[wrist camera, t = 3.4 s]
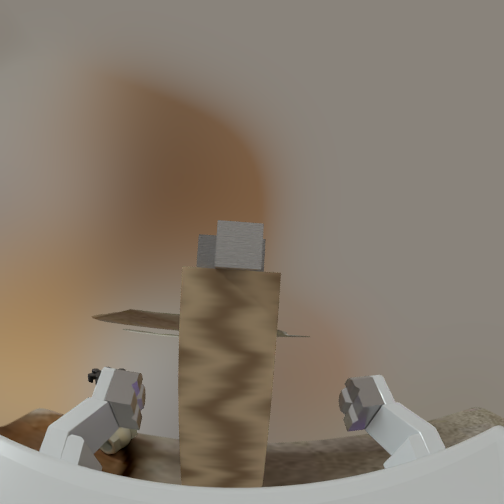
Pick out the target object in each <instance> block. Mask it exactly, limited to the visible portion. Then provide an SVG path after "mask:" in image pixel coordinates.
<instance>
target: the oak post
mask: <svg viewBox="0 0 504 504" xmlns="http://www.w3.org/2000/svg"><path fill="white" fill-rule="evenodd" d="M280 276H281V273H274V272H259V271H243V270H227V269H213V268H198V267H185V266H183V269H182V284H181V302H180V303H181V304H180V326H179V374H178V375H179V377H178V378H179V379H178V394H179V442H180V464H181V481H182V485H187V486H200V487H221V488H254V487H262V485H263V477H264V468H265V459H266V449H267V440H268V430H269V420H270V408H271V397H272V387H273V375H274V363H275V350H276V337H277V323H278V309H279V293H280Z"/></svg>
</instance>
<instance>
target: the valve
mask: <svg viewBox="0 0 504 504" xmlns="http://www.w3.org/2000/svg"><path fill="white" fill-rule="evenodd" d="M108 368H110V367H108ZM119 370H124V371H126V370H125V369H119ZM100 374H101V371H100V370H99V369H92V373H90V374H88V381H89V382H91V383H93V380H94V379H95V381H96V385H97V382H98V379H99V376H100ZM136 435H137V430H135V429H128V428H121V427H119V429H118V430H117V431H116V432H115V433H114V434H113V435H112V436H111V437H110V438H109V439H108V440H107V441H106V442H105V443H104V444H103V445H102V446H101V447H100V449H101V450H102V451H103V452H104V453H106V454H113V453H116V452H117V451H118V450H120V449H121V448H124V447H125V446H127V445H128V444H129V442H130V440H131V439H133V438H134V437H135V436H136Z"/></svg>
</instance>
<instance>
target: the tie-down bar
mask: <svg viewBox="0 0 504 504" xmlns="http://www.w3.org/2000/svg"><path fill="white" fill-rule="evenodd" d="M263 226H264V225H263V224H258V223H247V222H233V221H220V220H218V226H217V236H214V235H199V241H198V255H197V267H198V268H213V269H227V270H243V271H259V272H264V256H265V239H263Z"/></svg>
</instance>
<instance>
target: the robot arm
mask: <svg viewBox="0 0 504 504" xmlns="http://www.w3.org/2000/svg"><path fill="white" fill-rule="evenodd" d="M142 380H143V378H142V374H141V373H136V372H130V371H124V370H119V369H113V368H108V367H104V368H103V369H102V371H101V374H100V376H99V379H98V382H97V385H96V387H95V390H94V393H93V396H92V398H87V399H86V400H84V401H83V402H81V403H80V404H79V405H77V406H76V407H75V408H73V409H72V410H70V411H69V412H68V413H66V414H65V415H63V416H62V417H61V418H59V419H58V420H56V421H55V422H54V423H52V424H51V425H49V426H48V429H47V432H46V434H45V437H44V440H43V443H42V445H41V448H40V451H36V450H33V449H31V448H29V447H26V446H24V445H21V444H19V443H17V442H15V441H12V440H10V439H8V438H6V437H4V436H2V435H0V504H504V427H503V426H500V425H498V426H494V427H492V428H490V429H488V430H486V431H484V432H482V433H480V434H478V435H476V436H474V437H472V438H470V439H467V440H465V441H463V442H461V443H458V444H456V445H454V446H451V447H449V448H445V446H444V444H443V442H442V440H441V438H440V436H439V434H438V432H437V430H436V428H435V427H434V426H432V425H431V424H429V423H428V422H426V421H425V420H424V419H422V418H421V417H419V416H418V415H416V414H415V413H413V412H412V411H410V410H409V409H408V408H406V407H405V406H403V405H402V404H400V403H399V402H395V400H394V398H393V396H392V394H391V392H390V390H389V388H388V386H387V384H386V382H385V380H384V378H383V376H381V375H375V376H364V377H356V378H349V379H347V381H346V383H345V385H346V388H344V389H343V390H342V391H341V393H340V395H339V407H340V410H341V412H343V413H344V414H345V417H344V423H345V426H346V429H347V431H355V430H363V429H365V430H366V431H367V433H369V434H370V435H371V436H372V437H373V438H374V439H375V440H376V441H377V442H378V443H379V444H380V445H381V446H382V447H383V448H384V449H385V450H386V451H387V452H388V453H389V454H391V456H390V457H389V458H388V459H387V460H386V461H385V463H384V464H383V465H384V468H385V469H382V470H378V471H374V472H370V473H365V474H361V475H356V476H351V477H346V478H341V479H335V480H329V481H322V482H315V483H308V484H299V485H288V486H275V487H254V488H221V487H200V486H187V485H176V484H168V483H160V482H153V481H146V480H140V479H135V478H129V477H124V476H120V475H115V474H110V473H106V472H102V471H101V470H102V466H101V464H100V463H99V461H98V460H97V459H96V457H95V456H94V453H95V452H96V451H97V450H98V449H99V448H100V447H101V446H102V445H103V444H104V443H105V442H106V441H107V440H108V439H109V438H110V437H111V436H112V435H113V434H114V433H115V432H116V431H117V430H118V429H119V427H121V428H128V429H135V430H139V429H140V424H141V419H142V415H141V410H142V409H143V408H144V405H145V387H144V385H143V384H142Z"/></svg>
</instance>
